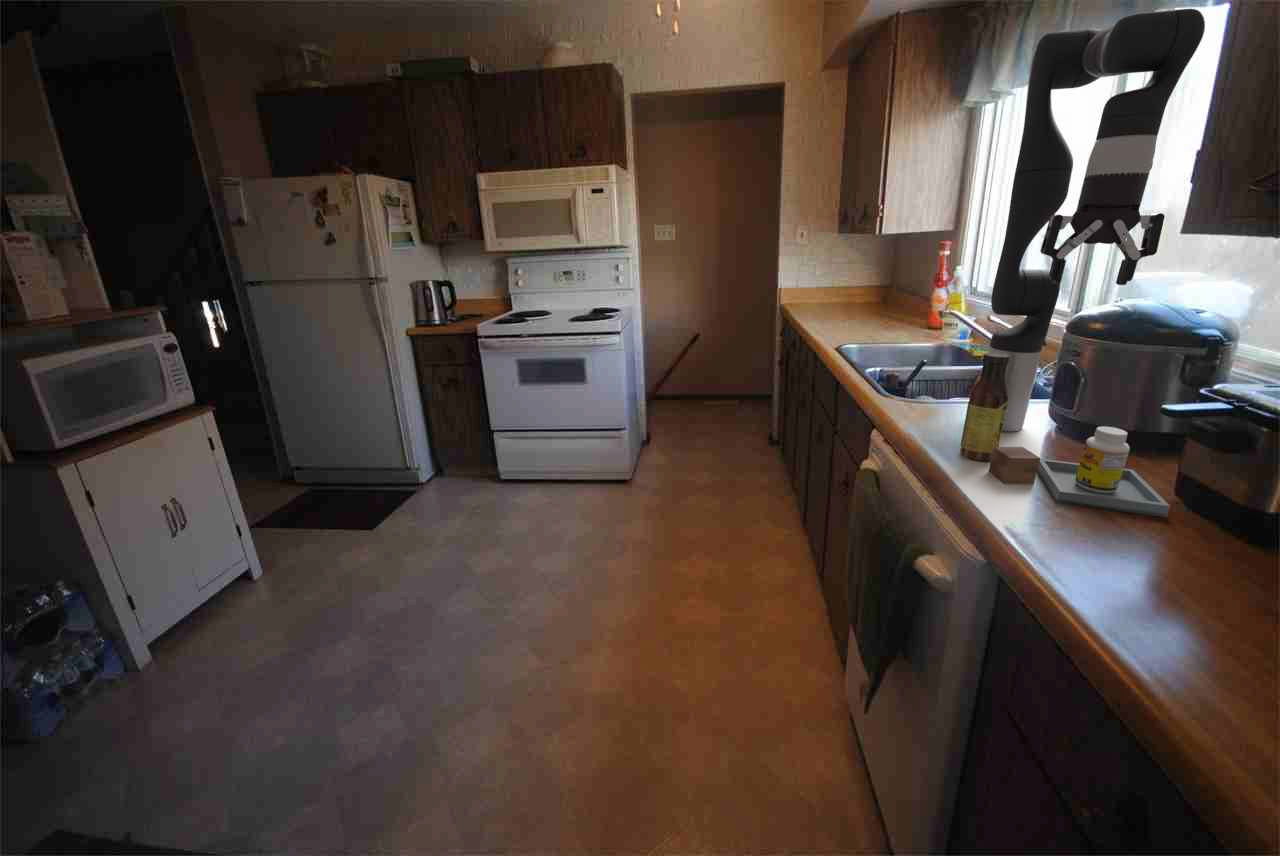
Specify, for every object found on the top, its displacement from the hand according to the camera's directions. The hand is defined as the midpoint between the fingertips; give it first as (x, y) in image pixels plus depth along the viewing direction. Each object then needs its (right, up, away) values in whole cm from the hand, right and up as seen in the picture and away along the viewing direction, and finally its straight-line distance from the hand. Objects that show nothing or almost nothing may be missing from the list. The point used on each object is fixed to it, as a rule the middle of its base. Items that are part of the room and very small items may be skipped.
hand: (1087, 284), depth 89 cm
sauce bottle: (-6, -29, +19) cm, 35 cm away
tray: (+5, -34, +5) cm, 34 cm away
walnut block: (-6, -32, +10) cm, 34 cm away
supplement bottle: (+5, -33, +5) cm, 34 cm away
